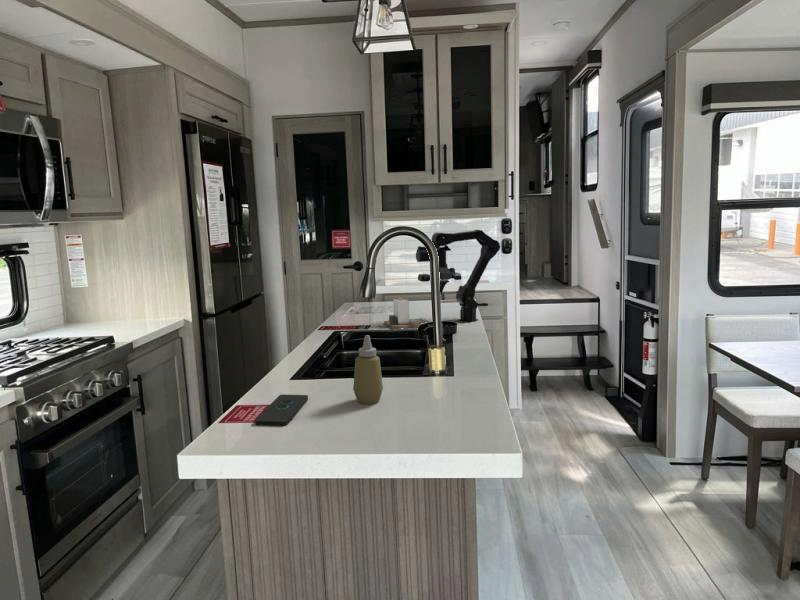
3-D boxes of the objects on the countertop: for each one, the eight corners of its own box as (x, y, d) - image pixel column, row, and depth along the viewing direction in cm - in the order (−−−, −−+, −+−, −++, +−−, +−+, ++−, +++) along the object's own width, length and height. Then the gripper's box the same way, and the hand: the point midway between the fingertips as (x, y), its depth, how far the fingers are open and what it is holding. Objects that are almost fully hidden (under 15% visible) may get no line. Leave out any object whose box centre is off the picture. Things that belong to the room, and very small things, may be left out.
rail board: (421, 320, 265) (421, 311, 264) (432, 326, 252) (432, 316, 251) (383, 323, 260) (383, 314, 259) (393, 329, 247) (392, 319, 246)
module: (404, 320, 259) (403, 296, 257) (409, 323, 252) (409, 298, 250) (393, 321, 257) (393, 297, 256) (398, 324, 250) (398, 299, 249)
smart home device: (309, 394, 158) (286, 421, 138) (309, 400, 158) (287, 428, 139) (279, 393, 159) (253, 420, 139) (279, 399, 159) (253, 427, 140)
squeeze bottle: (389, 399, 157) (388, 334, 154) (372, 408, 150) (371, 340, 147) (364, 394, 161) (362, 331, 158) (347, 403, 154) (345, 336, 151)
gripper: (426, 263, 246) (426, 300, 248) (466, 262, 251) (466, 297, 254) (417, 261, 256) (417, 296, 258) (456, 259, 262) (456, 294, 264)
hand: (439, 296), depth 258 cm, fingers closed
